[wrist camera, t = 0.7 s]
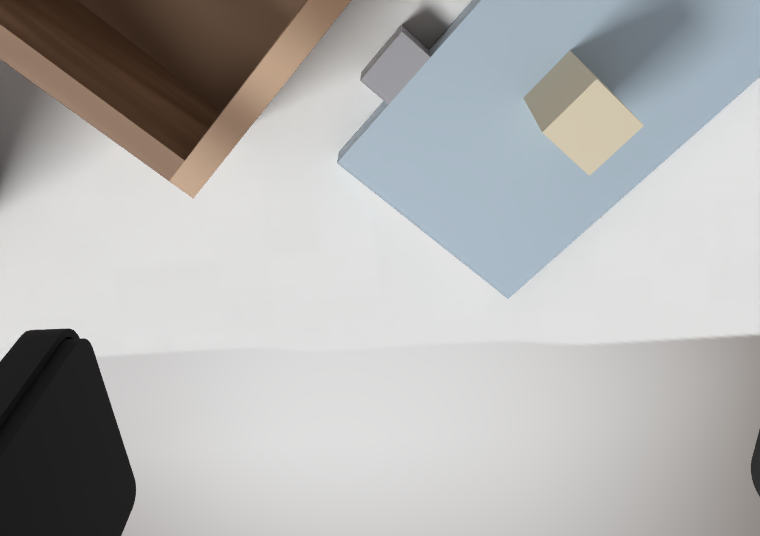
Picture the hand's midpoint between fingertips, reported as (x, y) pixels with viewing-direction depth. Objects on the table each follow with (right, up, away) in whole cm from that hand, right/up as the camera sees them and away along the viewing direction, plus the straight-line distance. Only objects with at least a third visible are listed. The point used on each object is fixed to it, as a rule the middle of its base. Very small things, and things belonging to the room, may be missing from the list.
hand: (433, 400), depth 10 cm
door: (+8, +11, +26) cm, 29 cm away
